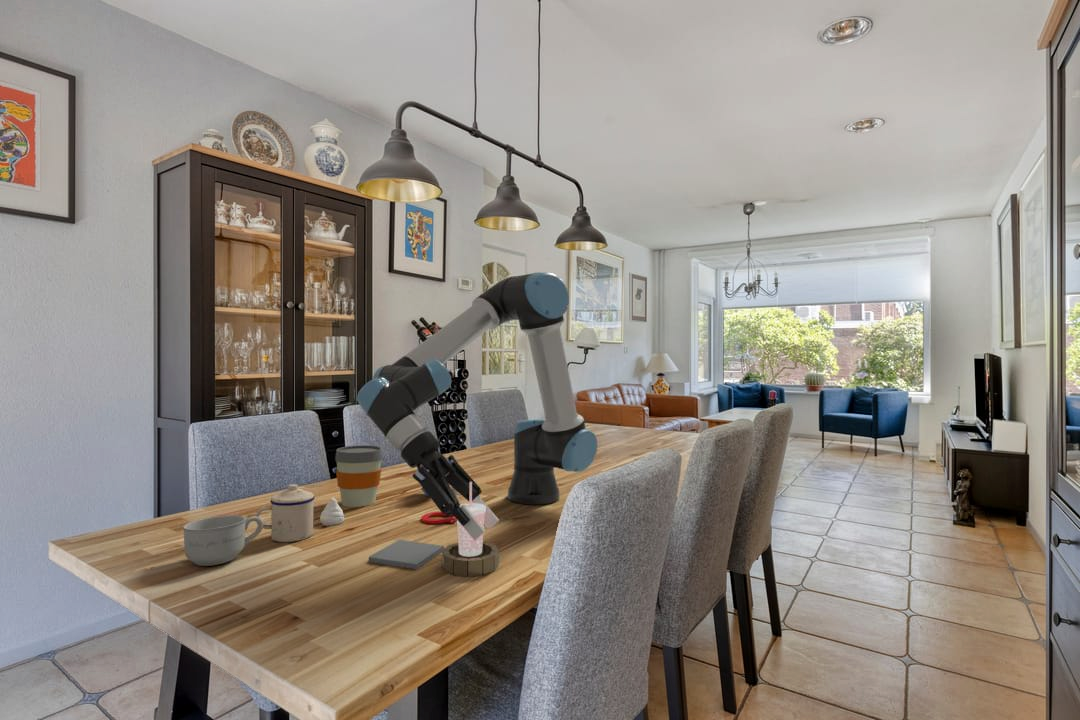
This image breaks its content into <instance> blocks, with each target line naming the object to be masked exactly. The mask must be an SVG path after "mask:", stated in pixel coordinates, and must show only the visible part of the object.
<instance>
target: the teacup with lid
mask: <svg viewBox="0 0 1080 720" xmlns="http://www.w3.org/2000/svg"><path fill="white" fill-rule="evenodd" d="M314 500H315V495H314V493H312V492H311V491H306V490H304V489H302V488H299V486H298V484H294V483H293V484H288V486H287V489H285V490H283V491H281V492H280V493H277V494H275V495H273V496H271V498H270V504H271V505H267V506H262V507H260V508H259V509H258V510H257V511H256V513H255V516H257V517H259V518H260V515H261V513H262V512H265V511H270V510H271V521H270V522H271V523H270V524H264V523H263V528H262V529H264V530H271V531H270V532H271V533H270V534H271V536H270V537H271V539H272V540H273V541H275V542H279V543H292V542H293V543H294V541H295V542H299V541H303V540H306V539H309V538H310V537H311V536H313V534H314ZM256 524H257V525H258V523H257V522H256Z"/></svg>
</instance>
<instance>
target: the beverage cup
mask: <svg viewBox="0 0 1080 720" xmlns="http://www.w3.org/2000/svg"><path fill="white" fill-rule="evenodd" d="M463 504H464V505H465V506H466V508H467V509H468V510H469V511H470V512H471V514H472V515H473V516H474V517H475V518H476V520H477V521H478V522H479V523H480V524H481V526H482V527H483V528H484V526H485V524H484V514H485V512H486V506H485V505H483V504H479V503H472V482H470V492H469V501H468V502H466V503H460V507H461V506H462V505H463ZM456 524H457V526H456V528H457V540H458V541H457V543H458V546H459V554H460V555H462V556H467V557H471V556H477V555H480V554H481V553H482V545H483V542H484V533H483V534H482V535H480V536H479V537H478V538H477V539H476V540H475V541H474V539H473V538H472V537H471V536H470V534H469V533H468V532H467V531H466V530H465V528H464V527H463V526H462V525H461V524H460V522H459V521H458V520H456ZM484 529H485V528H484ZM471 558H472V557H471Z"/></svg>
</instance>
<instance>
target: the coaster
mask: <svg viewBox="0 0 1080 720" xmlns="http://www.w3.org/2000/svg"><path fill="white" fill-rule="evenodd" d="M444 548H445V545H442V544H441V545H440V544H433V543H425V542H418V541H412V540H405V539H397V540H395V542H393V543H391V544H388V545H386V546H385V547H383V548H382V549H380V550H378V551H377V552H374V553H372V554H371V555H369V556H368V563H372V562H374V563H373V564H380V565H386V566H391V567H398V566H399V568H404V567H406V568H405V569H411V568H412V569H413V570H418V569H419V568H421V567H423V566H424V565H425V564H427V563H428V562H430V561H432V559H434V558H436V557H437V556H438V555H440V554H442V550H443V549H444Z"/></svg>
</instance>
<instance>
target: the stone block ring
mask: <svg viewBox="0 0 1080 720" xmlns="http://www.w3.org/2000/svg"><path fill="white" fill-rule="evenodd" d="M441 555H442V557H441V559H442V560H441V562H442V563H441V567H442V570H443V571H444V572H445V571H446V573H448V574H450V575H452V576H455V575H456V577H457V576H458V577H463V578H464V577H465V578H471V577H478V576H479V577H480V576H485V575H488V574H490V573H493V572H495V570H497V568H498V567H499V565H500V564H499V559H500V556H499V555H500V550H499V548H498V547H497V546H496V545H495V544H493V543H489V542H486V541H483V545H482V553H481V554H480V555H477V556H471V557H467V556H462V555H460V554H459V546H458V542H455V543H451V544H448V545H447V546H445V547H444V549H443V550H442V552H441Z"/></svg>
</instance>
